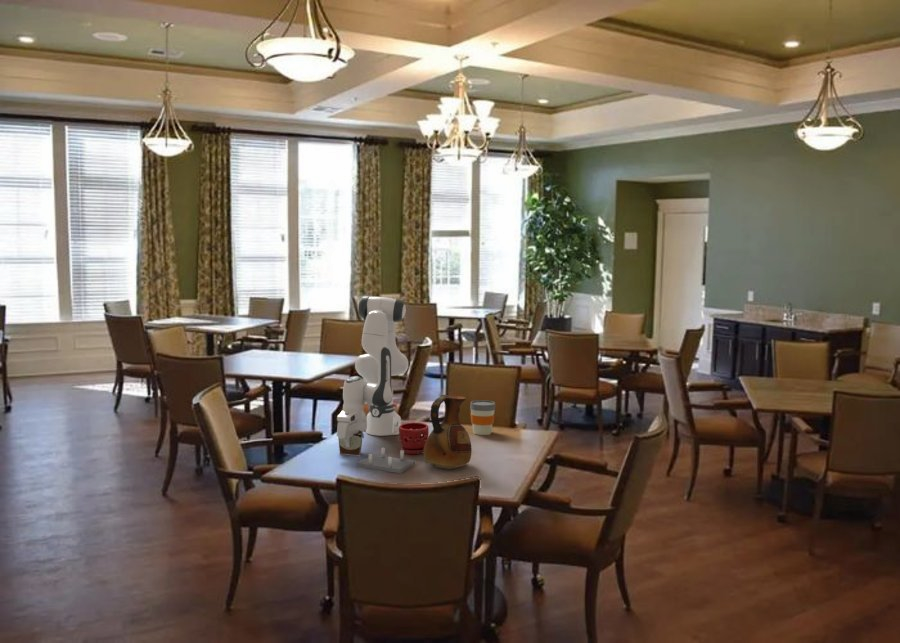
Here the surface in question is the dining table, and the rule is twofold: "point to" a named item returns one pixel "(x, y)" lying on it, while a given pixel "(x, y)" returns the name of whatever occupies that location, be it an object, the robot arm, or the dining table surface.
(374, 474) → the dining table surface
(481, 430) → the reusable coffee cup
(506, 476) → the dining table surface
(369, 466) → the pin tray
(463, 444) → the ceramic pitcher
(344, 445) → the food container
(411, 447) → the plant pot
